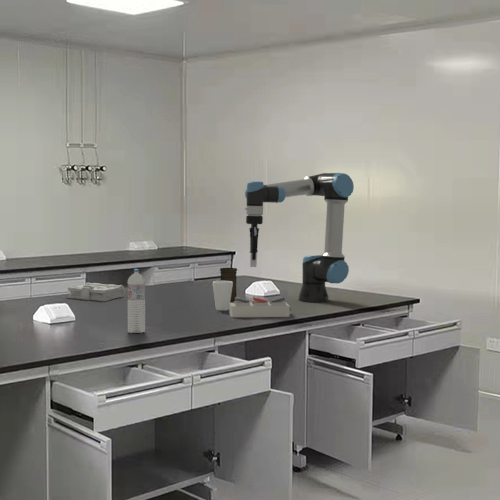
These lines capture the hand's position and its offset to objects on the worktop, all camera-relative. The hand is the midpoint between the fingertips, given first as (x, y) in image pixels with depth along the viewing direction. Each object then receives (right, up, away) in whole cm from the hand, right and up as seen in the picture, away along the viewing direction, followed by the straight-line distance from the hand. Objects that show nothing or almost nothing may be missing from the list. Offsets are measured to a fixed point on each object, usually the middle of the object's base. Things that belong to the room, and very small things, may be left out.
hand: (253, 266), depth 349 cm
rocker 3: (+11, -15, -8) cm, 20 cm away
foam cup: (-14, -20, +9) cm, 26 cm away
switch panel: (+3, -22, -6) cm, 23 cm away
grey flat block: (-82, -17, +42) cm, 94 cm away
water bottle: (-46, -25, -49) cm, 72 cm away
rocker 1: (-5, -15, -10) cm, 18 cm away
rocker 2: (+3, -15, -9) cm, 17 cm away
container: (-12, -19, +21) cm, 31 cm away
